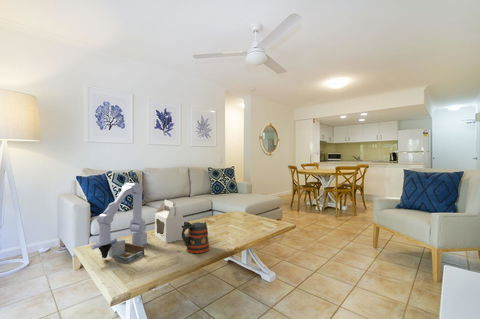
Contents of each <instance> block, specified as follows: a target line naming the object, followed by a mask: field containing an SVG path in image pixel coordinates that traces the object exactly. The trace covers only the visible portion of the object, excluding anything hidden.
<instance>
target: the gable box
mask: <svg viewBox="0 0 480 319" xmlns="http://www.w3.org/2000/svg"><path fill="white" fill-rule="evenodd" d="M180 211H181V210H179V208H178V207H177V206H176V202H174V201H173V200H169V199H164V201H163V203H161V204H160V206H159V208H158V209H157V210H156V212H155V214H154V217H155V218H154V236H155V237H156V236H157V237H156V238H158V239H159V240H161V241H162V242H163V243H165V244H169V243H173V242H172V241H174V242H177V241H176V240H178V241H181V240H180V239H182V230H183V228H182V226H184V215H183V214H182V212H180ZM163 233H164V237H163V236H162V235H161V234H163ZM182 240H183V239H182ZM168 242H169V243H168Z"/></svg>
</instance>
